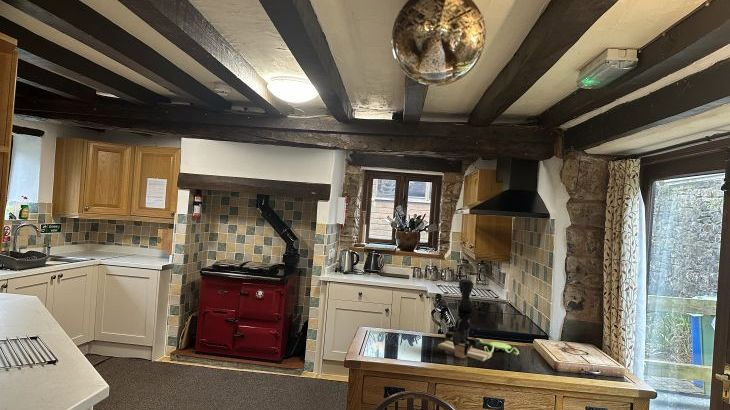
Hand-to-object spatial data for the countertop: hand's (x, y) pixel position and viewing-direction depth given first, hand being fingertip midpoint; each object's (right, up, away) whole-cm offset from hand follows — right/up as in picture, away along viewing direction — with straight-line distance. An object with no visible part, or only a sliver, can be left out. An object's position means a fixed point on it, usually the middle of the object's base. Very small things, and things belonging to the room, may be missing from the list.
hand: (460, 354), depth 263 cm
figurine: (+23, -4, +18) cm, 29 cm away
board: (+4, -2, +8) cm, 9 cm away
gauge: (+3, -1, +4) cm, 5 cm away
